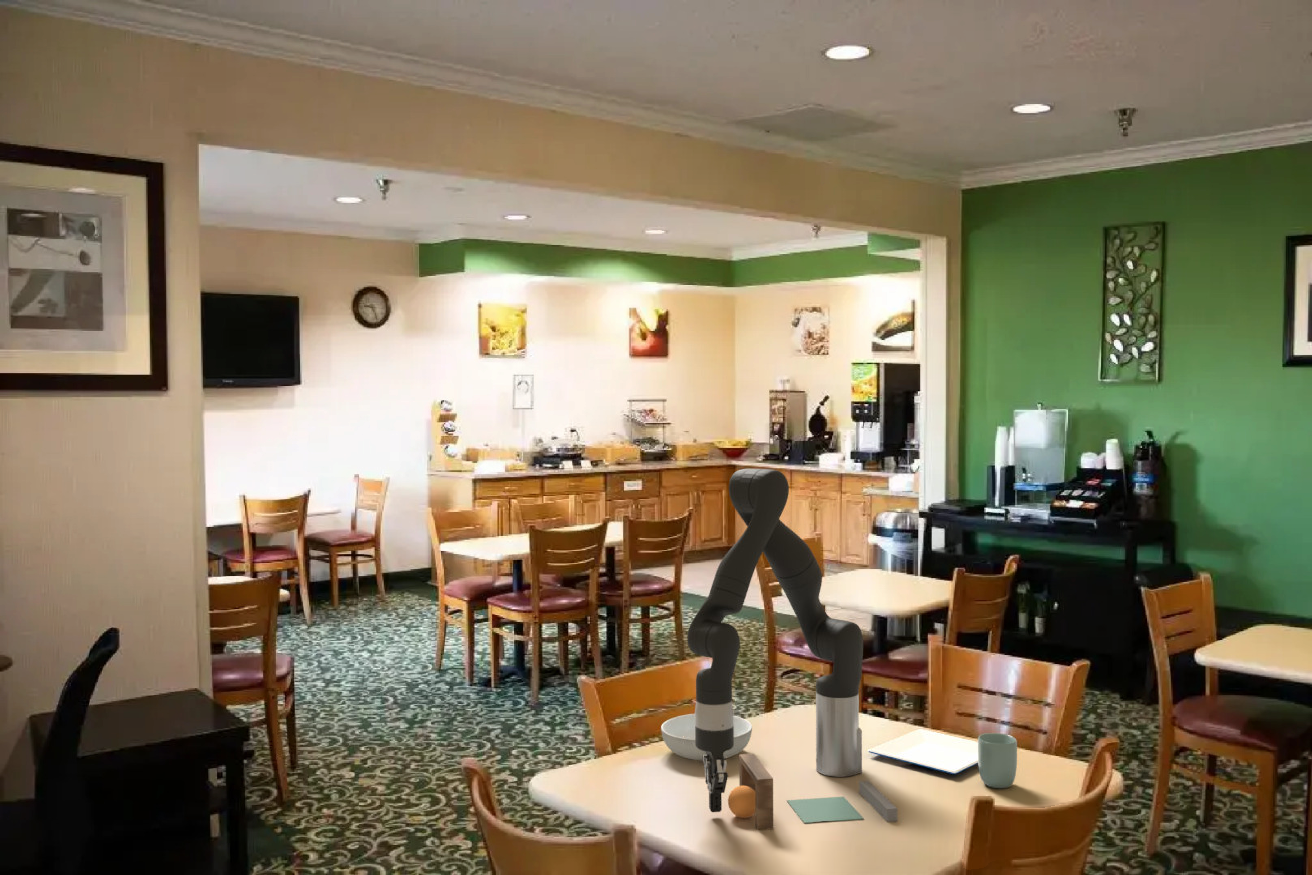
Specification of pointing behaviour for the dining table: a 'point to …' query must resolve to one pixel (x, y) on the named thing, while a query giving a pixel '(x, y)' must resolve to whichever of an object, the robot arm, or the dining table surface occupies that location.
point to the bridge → (758, 788)
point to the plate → (931, 751)
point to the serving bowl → (686, 727)
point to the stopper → (878, 800)
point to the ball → (742, 801)
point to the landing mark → (824, 809)
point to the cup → (997, 759)
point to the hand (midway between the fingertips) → (715, 810)
